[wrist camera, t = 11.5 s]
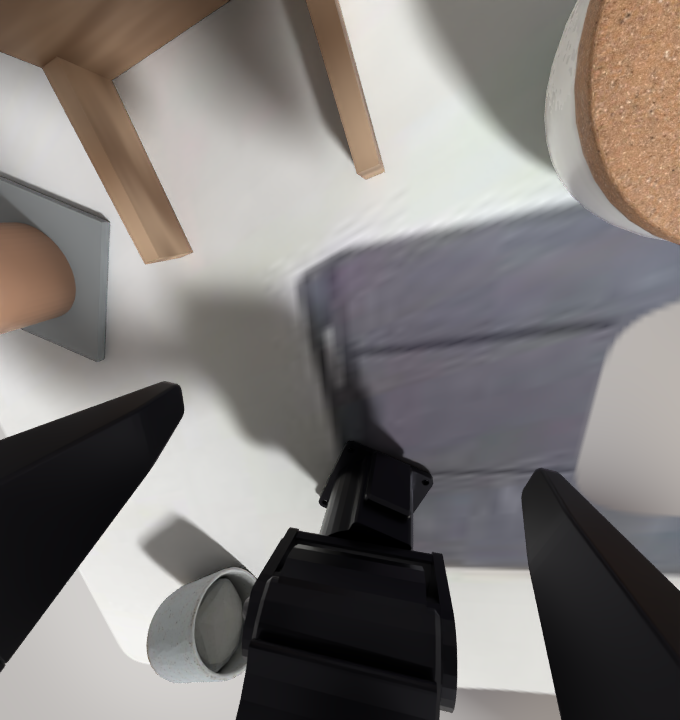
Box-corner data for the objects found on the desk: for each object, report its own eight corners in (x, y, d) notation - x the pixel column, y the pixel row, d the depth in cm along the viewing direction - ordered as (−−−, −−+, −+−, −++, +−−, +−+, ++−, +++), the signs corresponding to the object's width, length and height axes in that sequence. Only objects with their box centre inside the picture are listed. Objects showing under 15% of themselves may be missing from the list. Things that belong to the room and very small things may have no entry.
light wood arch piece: (384, 171, 17) (363, 141, 10) (180, 257, 21) (56, 281, 14) (312, -94, 14) (200, -436, 6) (87, 67, 18) (-140, -34, 10)
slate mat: (104, 358, 25) (97, 362, 25) (-17, 306, 25) (-26, 308, 25) (110, 222, 21) (101, 222, 20) (-36, 161, 21) (-48, 159, 20)
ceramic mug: (175, 572, 34) (116, 663, 28) (225, 548, 31) (173, 645, 24) (246, 632, 37) (208, 731, 30) (300, 615, 33) (272, 721, 27)
